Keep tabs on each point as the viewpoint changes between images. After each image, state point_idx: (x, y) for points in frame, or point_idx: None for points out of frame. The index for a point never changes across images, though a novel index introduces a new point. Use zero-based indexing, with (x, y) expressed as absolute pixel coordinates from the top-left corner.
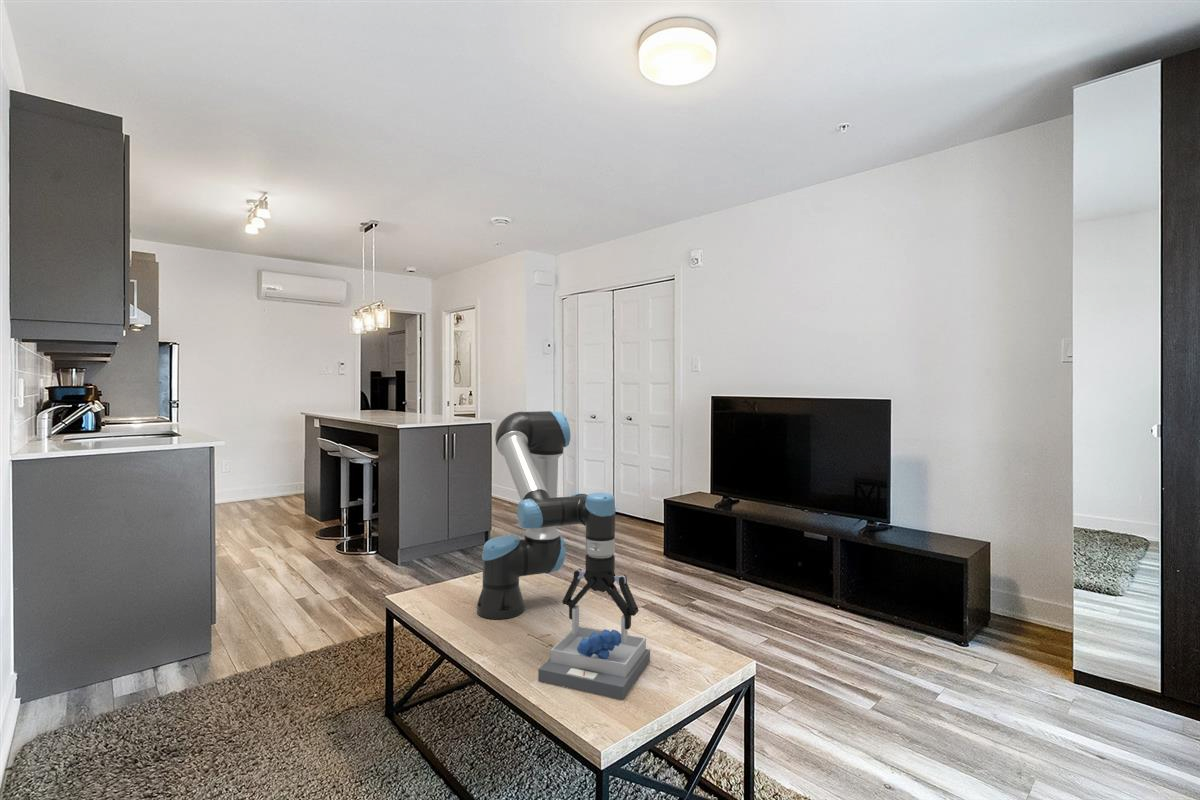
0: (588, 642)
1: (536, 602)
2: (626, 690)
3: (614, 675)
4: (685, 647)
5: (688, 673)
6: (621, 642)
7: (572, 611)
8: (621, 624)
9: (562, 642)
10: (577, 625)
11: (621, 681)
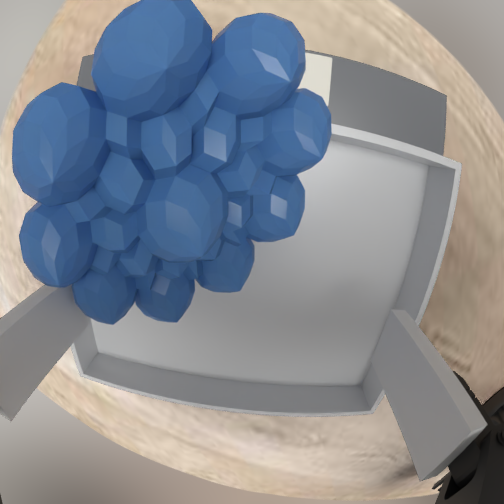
0: (216, 38)
1: None
2: None
3: None
4: (78, 396)
5: (18, 284)
6: None
7: (476, 408)
8: (8, 326)
9: (425, 276)
10: (389, 367)
11: (90, 86)
